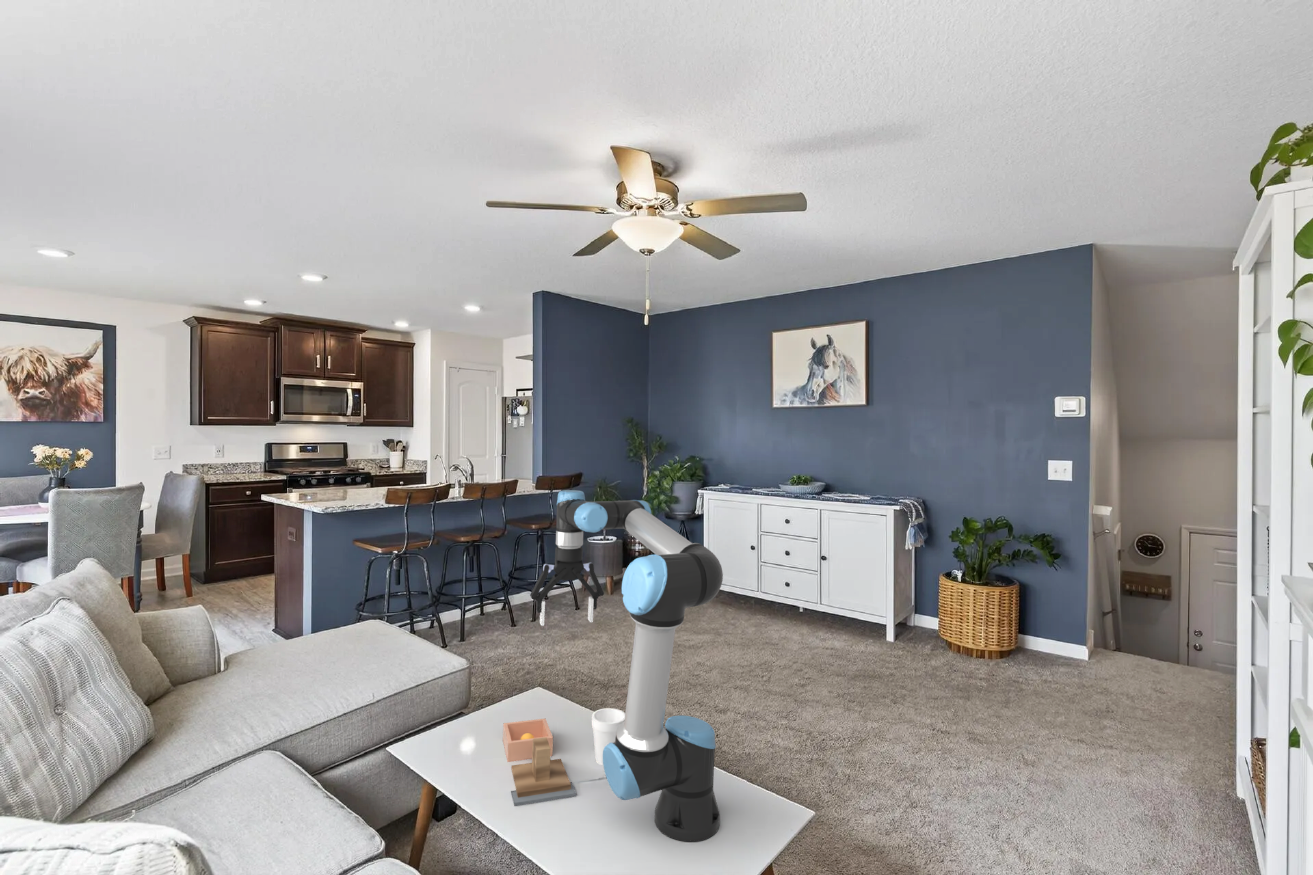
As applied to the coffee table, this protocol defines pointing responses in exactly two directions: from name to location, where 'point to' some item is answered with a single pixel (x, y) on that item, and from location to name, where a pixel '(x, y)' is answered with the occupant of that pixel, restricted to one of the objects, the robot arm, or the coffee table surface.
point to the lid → (540, 772)
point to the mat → (543, 796)
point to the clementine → (527, 736)
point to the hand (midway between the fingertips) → (566, 622)
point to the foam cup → (605, 729)
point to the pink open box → (524, 747)
